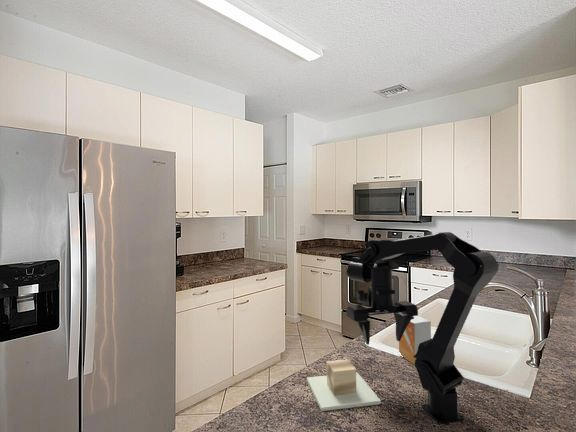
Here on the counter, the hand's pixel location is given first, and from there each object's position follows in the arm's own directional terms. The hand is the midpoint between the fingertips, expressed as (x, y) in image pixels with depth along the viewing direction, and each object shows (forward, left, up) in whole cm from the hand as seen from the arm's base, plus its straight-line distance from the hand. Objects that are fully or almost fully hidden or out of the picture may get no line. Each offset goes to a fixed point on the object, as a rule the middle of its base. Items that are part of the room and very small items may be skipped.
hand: (382, 342), depth 89 cm
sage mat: (-1, +12, -11) cm, 17 cm away
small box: (+13, -17, -12) cm, 24 cm away
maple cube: (-1, +12, -11) cm, 16 cm away
